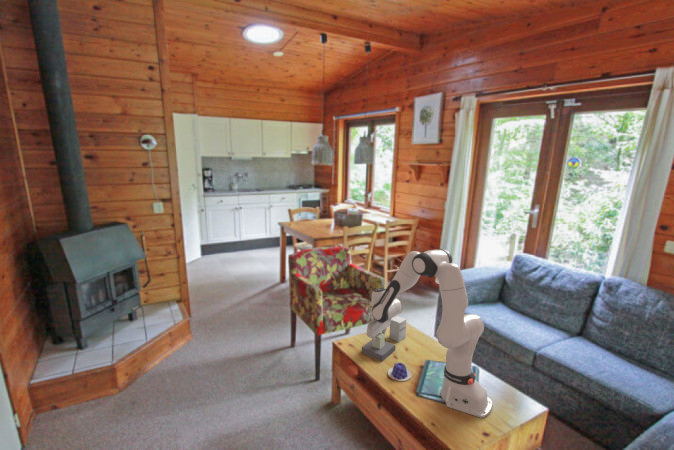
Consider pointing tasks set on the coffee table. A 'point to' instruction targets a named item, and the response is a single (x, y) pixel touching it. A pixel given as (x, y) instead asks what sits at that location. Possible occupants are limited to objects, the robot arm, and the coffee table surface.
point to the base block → (378, 350)
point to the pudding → (399, 372)
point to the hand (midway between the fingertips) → (378, 338)
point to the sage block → (379, 341)
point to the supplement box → (398, 328)
